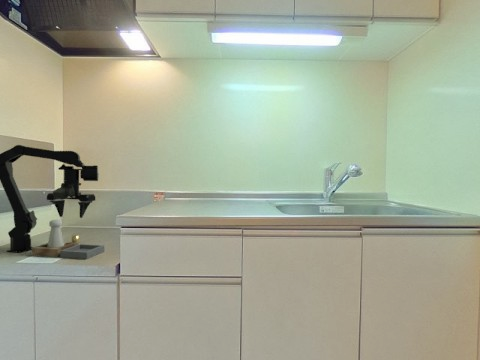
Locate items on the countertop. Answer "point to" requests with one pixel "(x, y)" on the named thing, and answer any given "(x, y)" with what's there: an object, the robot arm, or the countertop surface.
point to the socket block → (50, 250)
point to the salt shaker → (55, 234)
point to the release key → (75, 238)
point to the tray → (82, 251)
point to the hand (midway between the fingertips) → (71, 217)
